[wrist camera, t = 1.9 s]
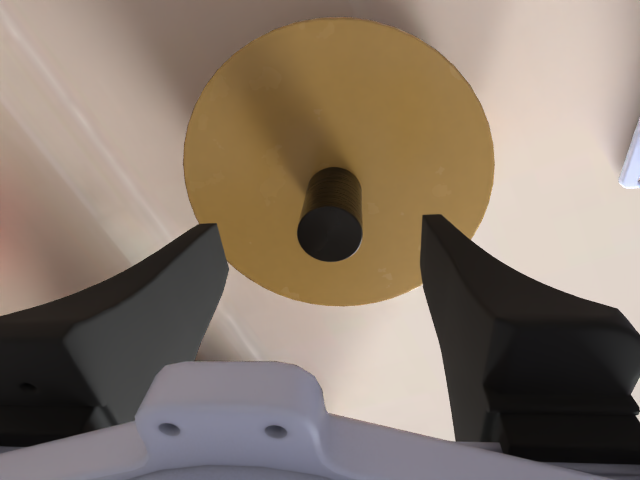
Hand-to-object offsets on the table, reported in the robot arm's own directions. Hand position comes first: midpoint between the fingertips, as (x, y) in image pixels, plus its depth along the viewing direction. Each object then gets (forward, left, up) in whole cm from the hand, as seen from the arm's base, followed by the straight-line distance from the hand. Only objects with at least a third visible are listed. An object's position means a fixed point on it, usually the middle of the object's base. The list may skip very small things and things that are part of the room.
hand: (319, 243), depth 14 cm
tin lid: (0, 0, -5) cm, 5 cm away
